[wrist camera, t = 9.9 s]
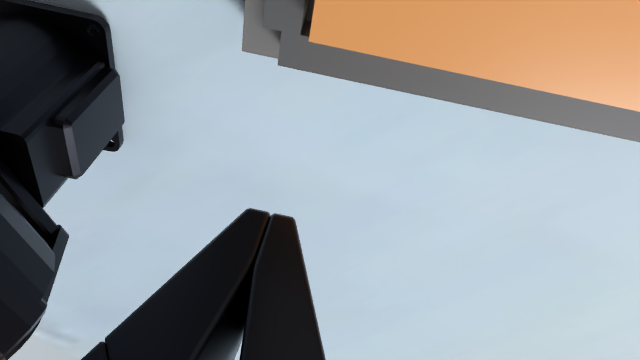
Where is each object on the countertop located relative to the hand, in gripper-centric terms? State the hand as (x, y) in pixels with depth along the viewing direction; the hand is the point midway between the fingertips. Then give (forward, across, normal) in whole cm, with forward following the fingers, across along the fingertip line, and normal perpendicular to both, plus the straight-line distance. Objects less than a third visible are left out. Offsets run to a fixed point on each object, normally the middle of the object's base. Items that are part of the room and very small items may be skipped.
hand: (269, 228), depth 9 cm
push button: (+10, -5, -2) cm, 11 cm away
